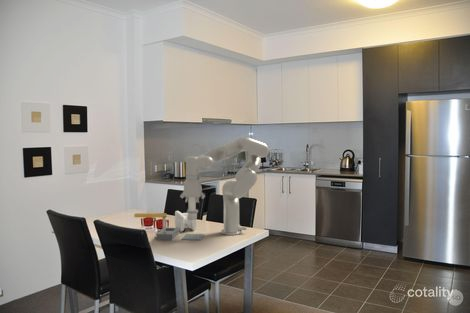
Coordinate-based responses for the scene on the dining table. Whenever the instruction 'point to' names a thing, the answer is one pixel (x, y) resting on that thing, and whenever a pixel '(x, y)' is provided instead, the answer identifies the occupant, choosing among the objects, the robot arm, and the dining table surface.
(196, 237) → the mat
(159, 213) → the clip
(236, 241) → the dining table surface
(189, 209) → the plug
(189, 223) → the cable organizer
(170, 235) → the grey stand
